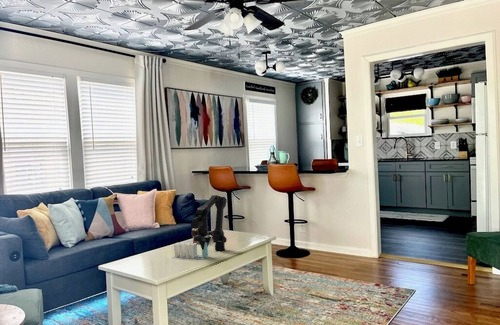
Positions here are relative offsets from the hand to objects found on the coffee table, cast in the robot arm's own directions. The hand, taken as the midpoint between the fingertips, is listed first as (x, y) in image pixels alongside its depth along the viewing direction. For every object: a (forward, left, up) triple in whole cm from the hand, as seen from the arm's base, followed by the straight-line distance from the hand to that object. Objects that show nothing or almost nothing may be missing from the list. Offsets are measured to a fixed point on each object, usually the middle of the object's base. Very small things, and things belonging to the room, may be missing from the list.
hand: (204, 248), depth 262 cm
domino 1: (+21, -7, -6) cm, 23 cm away
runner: (+11, -4, -6) cm, 13 cm away
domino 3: (+12, -4, -6) cm, 14 cm away
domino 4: (+8, -3, -6) cm, 10 cm away
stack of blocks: (+12, -54, -7) cm, 56 cm away
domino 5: (0, 0, -6) cm, 6 cm away
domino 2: (+17, -6, -6) cm, 19 cm away
